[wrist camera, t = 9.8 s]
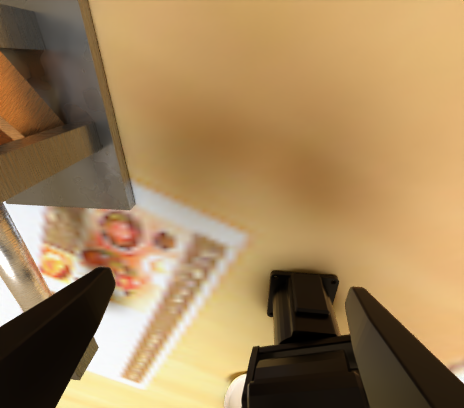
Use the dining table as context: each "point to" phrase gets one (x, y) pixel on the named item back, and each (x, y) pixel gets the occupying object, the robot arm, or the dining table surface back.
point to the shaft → (27, 278)
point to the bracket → (62, 111)
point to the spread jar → (235, 393)
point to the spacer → (21, 106)
